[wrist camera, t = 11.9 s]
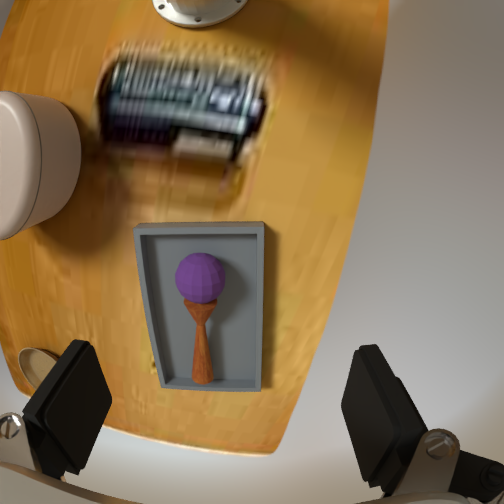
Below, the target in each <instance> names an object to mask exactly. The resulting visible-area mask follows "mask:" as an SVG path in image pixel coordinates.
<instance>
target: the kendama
mask: <svg viewBox="0 0 504 504" xmlns="http://www.w3.org/2000/svg"><path fill="white" fill-rule="evenodd" d="M175 283H176V286H177V288H178V290H179V292H180V294H181V295H182V296H183V297H184V301H183V302H184V304H185V306H186V308H187V310H188V311H189V313H190V314H191V316H192V317H193V319H194V321H195V322H196V324H197V326H196V335H195V345H194V356H193V367H192V379H193V381H194V382H195V383H198V384H203V385H204V384H208V383H210V382H211V381H212V380H213V378H214V375H213V369H212V363H211V357H210V351H209V345H208V339H207V333H206V326H205V323H206V322H207V320H208V318H209V317H210V315H211V313H212V312H213V310H214V308H215V307H216V305H217V301H218V300H217V299H216V298H217V297H218V296H219V295H220V294H221V292H222V290H223V288H224V287H225V271H224V268H223V266H222V264H221V263H220V261H219V260H217V259H216V258H215V257H214V256H212V255H211V254H207V253H193V254H190V255H188V256H187V257H185V258H184V259H183V260H182V261H181V262H180V263H179V266H178V268H177V270H176V273H175Z"/></svg>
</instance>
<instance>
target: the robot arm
mask: <svg viewBox="0 0 504 504" xmlns="http://www.w3.org/2000/svg"><path fill="white" fill-rule="evenodd" d="M247 1H248V0H152V2H153V5H154V7H155V9H156V11H157V12H158V13H159V15H160V16H161V17H162V18H163V19H165V20H166V21H168V22H170V23H172V24H174V25H178V26H182V27H191V28H193V27H205V26H210V25H214V24H217V23H220V22H222V21H224V20H226V19H229V18H230V17H232V16H233V15H235V14H236V13H237V12H238V11H240V10H241V9H242V8H243V7H244V5H245V4H246V2H247ZM237 2H240V3H237ZM163 8H164V9H163ZM198 21H200V22H198ZM111 404H112V396H111V393H110V391H109V388H108V386H107V383H106V380H105V378H104V375H103V372H102V369H101V367H100V364H99V361H98V358H97V355H96V352H95V349H94V347H93V346H92V345H91V344H90V343H89V342H88V341H83V340H76V339H75V340H73V341H72V342H71V343H70V345H69V346H68V347H67V349H66V350H65V351H64V353H63V354H62V355H61V357H60V358H59V359H58V361H57V362H56V363H55V365H54V366H53V367H52V369H51V370H50V372H49V373H48V374H47V376H46V377H45V379H44V380H43V381H42V383H41V384H40V386H39V387H38V388H37V390H36V391H35V393H34V394H33V396H32V397H31V399H30V400H29V402H28V403H27V405H26V406H25V408H24V409H23V411H22V412H23V413H24V415H23V416H22V417H21V416H20V415H18V414H16V413H12V412H10V413H5V414H2V415H1V416H0V504H142V503H136V502H132V501H128V500H123V499H119V498H115V497H111V496H107V495H104V494H100V493H97V492H93V491H90V490H87V489H84V488H81V487H78V486H75V485H72V484H69V483H67V482H66V480H65V477H64V473H65V471H67V472H70V473H73V474H76V475H79V472H80V470H81V469H84V468H85V466H86V463H87V461H88V458H89V456H90V453H91V451H92V448H93V446H94V443H95V441H96V438H97V436H98V434H99V432H100V429H101V427H102V425H103V422H104V420H105V418H106V416H107V413H108V411H109V409H110V406H111ZM341 408H342V412H343V415H344V419H345V422H346V425H347V429H348V431H349V435H350V438H351V441H352V445H353V448H354V451H355V455H356V458H357V462H358V465H359V468H360V472H361V475H362V478H363V480H364V481H365V482H366V481H368V483H369V486H370V488H372V487H376V486H381V489H382V491H383V492H384V493H383V495H382V496H381V498H380V499H376V500H371V501H366V502H361V503H356V504H504V465H503V464H501V463H499V462H497V461H493V460H490V459H487V458H484V457H480V456H477V455H474V454H471V453H468V452H465V451H462V450H460V444H459V440H458V439H457V437H456V436H455V435H454V434H453V433H452V432H450V431H448V430H445V429H432V430H430V431H428V429H427V427H426V425H425V423H424V421H423V419H422V417H421V416H420V414H419V412H418V410H417V408H416V407H415V404H414V403H413V401H412V399H411V397H410V395H409V394H408V392H407V390H406V388H405V387H404V385H403V383H402V381H401V380H400V379H399V378H398V377H395V375H394V373H393V371H392V370H391V368H390V366H389V364H388V363H387V361H386V359H385V357H384V356H383V354H382V352H381V351H380V349H379V347H378V346H377V345H376V344H372V345H362V346H360V347H359V350H355V352H354V355H353V359H352V364H351V368H350V372H349V376H348V380H347V384H346V387H345V391H344V394H343V398H342V402H341Z"/></svg>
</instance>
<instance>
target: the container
mask: <svg viewBox="0 0 504 504" xmlns="http://www.w3.org/2000/svg"><path fill="white" fill-rule="evenodd" d="M80 164H81V142H80V136H79V131H78V128H77V125H76V122H75V120H74V118H73V116H72V115H71V113H70V112H69V110H68V109H67V108H66V107H65V106H64V105H63V104H62V103H60V102H59V101H57V100H55V99H52V98H49V97H43V96H36V95H30V94H23V93H15V92H11V91H0V240H4V239H8V238H10V237H12V236H14V235H15V234H17V233H19V232H21V231H23V230H25V229H27V228H29V227H31V226H34V225H36V224H38V223H40V222H42V221H44V220H47V219H49V218H51V217H53V216H54V215H55V214H57V213H58V212H59V211H60V210H61V209H62V208H63V207H64V206H65V204H66V203H67V202H68V200H69V198H70V197H71V195H72V193H73V191H74V188H75V186H76V183H77V180H78V176H79V171H80Z"/></svg>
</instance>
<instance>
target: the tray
mask: <svg viewBox="0 0 504 504" xmlns="http://www.w3.org/2000/svg"><path fill="white" fill-rule="evenodd" d="M133 233H134V242H135V250H136V258H137V266H138V273H139V280H140V286H141V293H142V299H143V305H144V310H145V316H146V321H147V326H148V331H149V336H150V341H151V346H152V351H153V355H154V360H155V364H156V368H157V372H158V377H159V381H160V385H161V388H169V389H182V390H199V391H228V392H261V363H262V323H263V274H264V223H263V222H168V223H140V224H138V225H137V226H136V227H134V228H133ZM193 253H207V254H211V255H212V256H214V257H215V258H216V259H217V260H219V261H220V263H221V264H222V266H223V268H224V271H225V287H224V288H223V290H222V292H221V294H220V295H219V296H218V297H217V298H216V299H217V300H218V301H217V305H216V307H215V308H214V310H213V312H212V313H211V315H210V317H209V318H208V320H207V322H206V323H205V326H206V333H207V339H208V345H209V351H210V357H211V363H212V369H213V375H214V378H213V380H212V381H211V382H210V383H208V384H204V385H203V384H198V383H195V382H194V381H193V379H192V367H193V356H194V345H195V335H196V326H197V324H196V322H195V321H194V319H193V317H192V316H191V314H190V313H189V311H188V310H187V308H186V306H185V304H184V302H183V301H184V297H183V296H182V295H181V294H180V292H179V290H178V288H177V286H176V283H175V273H176V270H177V268H178V266H179V263H180V262H181V261H182V260H183V259H184V258H185V257H187V256H188V255H190V254H193Z"/></svg>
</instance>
